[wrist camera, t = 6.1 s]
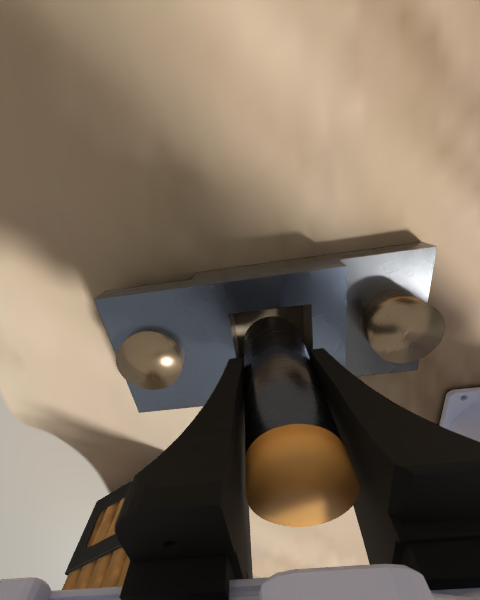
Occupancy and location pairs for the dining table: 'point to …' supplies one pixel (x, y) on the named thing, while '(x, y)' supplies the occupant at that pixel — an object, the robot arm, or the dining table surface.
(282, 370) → the pin
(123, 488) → the ammunition clip
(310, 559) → the dining table surface
